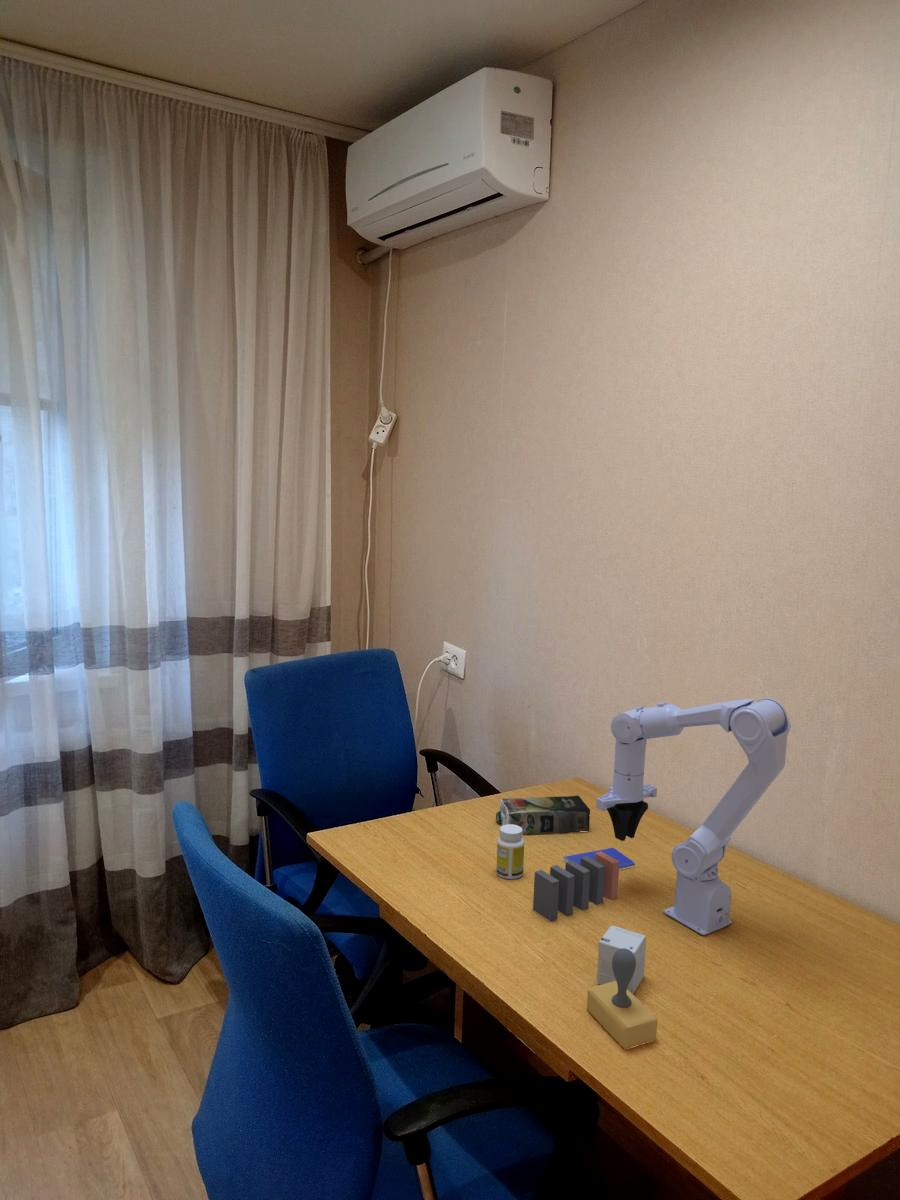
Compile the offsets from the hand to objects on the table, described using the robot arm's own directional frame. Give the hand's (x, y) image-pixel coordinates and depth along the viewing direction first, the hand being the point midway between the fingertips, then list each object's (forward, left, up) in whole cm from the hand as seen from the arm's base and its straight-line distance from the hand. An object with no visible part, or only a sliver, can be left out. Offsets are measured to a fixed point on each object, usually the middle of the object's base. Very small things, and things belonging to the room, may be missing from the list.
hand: (624, 837), depth 164 cm
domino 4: (0, +8, -10) cm, 13 cm away
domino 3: (0, +12, -10) cm, 16 cm away
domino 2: (0, +16, -10) cm, 19 cm away
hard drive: (+10, -3, -11) cm, 15 cm away
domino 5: (0, +4, -10) cm, 11 cm away
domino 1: (0, +20, -10) cm, 22 cm away
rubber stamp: (-30, +30, -11) cm, 44 cm away
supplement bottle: (+16, +15, -11) cm, 25 cm away
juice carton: (+31, -6, -11) cm, 33 cm away
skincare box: (-22, +22, -11) cm, 33 cm away
